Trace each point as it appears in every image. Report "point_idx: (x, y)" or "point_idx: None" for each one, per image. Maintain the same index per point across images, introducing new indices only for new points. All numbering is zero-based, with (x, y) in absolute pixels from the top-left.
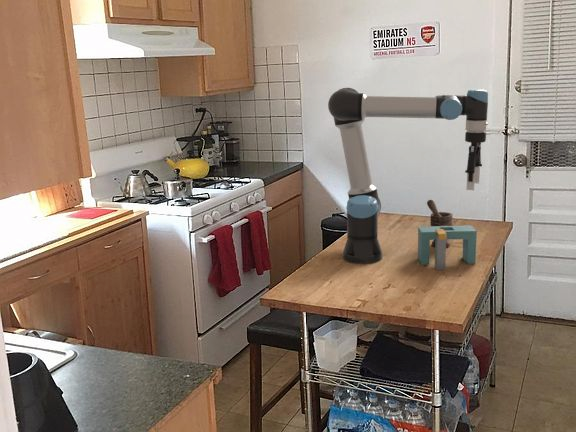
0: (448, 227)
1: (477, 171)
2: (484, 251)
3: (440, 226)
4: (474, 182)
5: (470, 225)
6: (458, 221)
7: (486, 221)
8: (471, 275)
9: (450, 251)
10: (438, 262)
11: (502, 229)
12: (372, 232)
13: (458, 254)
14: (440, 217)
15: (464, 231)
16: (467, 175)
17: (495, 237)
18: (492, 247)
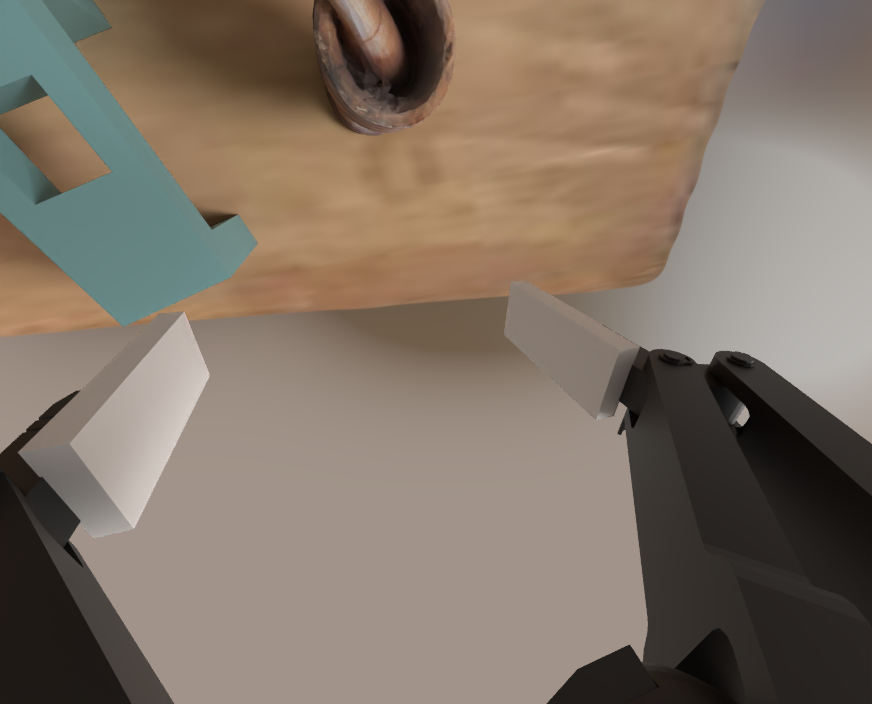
0: (94, 148)
1: (567, 373)
2: (351, 276)
3: (67, 79)
4: (184, 423)
5: (227, 272)
6: (692, 116)
7: (678, 217)
8: (10, 294)
9: (294, 149)
10: None
11: (595, 279)
12: None
13: (268, 191)
14: (315, 43)
15: (62, 269)
16: (56, 420)
17: (514, 277)
18: (406, 290)
